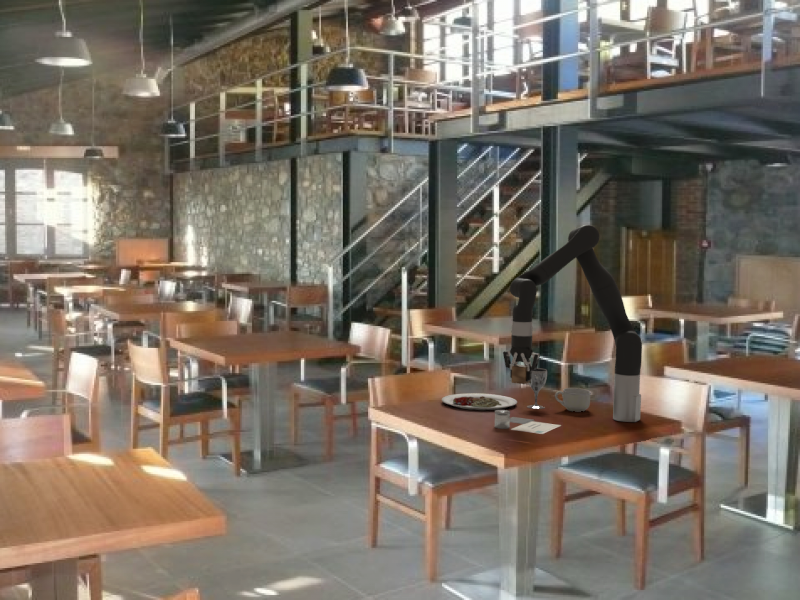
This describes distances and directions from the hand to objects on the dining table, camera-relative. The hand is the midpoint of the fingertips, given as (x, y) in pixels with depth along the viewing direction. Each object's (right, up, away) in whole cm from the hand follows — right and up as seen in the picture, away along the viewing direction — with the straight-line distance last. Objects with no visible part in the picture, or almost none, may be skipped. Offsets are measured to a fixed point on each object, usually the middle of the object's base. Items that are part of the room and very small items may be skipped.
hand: (520, 380), depth 330 cm
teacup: (+23, -14, +25) cm, 37 cm away
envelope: (+4, -16, -9) cm, 19 cm away
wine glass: (+10, -13, +30) cm, 34 cm away
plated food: (-12, -13, +34) cm, 38 cm away
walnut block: (0, -1, 0) cm, 1 cm away
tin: (-8, -16, -10) cm, 20 cm away
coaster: (0, -15, +2) cm, 15 cm away
